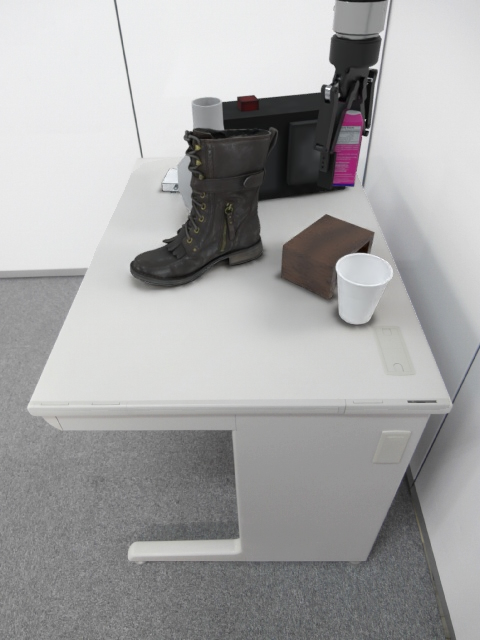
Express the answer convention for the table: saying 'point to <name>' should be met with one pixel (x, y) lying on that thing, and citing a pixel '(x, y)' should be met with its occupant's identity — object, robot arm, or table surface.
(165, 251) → the boot
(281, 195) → the speaker
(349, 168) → the supplement box
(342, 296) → the cup
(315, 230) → the brown wooden box
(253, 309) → the table surface
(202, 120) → the vase
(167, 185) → the container
